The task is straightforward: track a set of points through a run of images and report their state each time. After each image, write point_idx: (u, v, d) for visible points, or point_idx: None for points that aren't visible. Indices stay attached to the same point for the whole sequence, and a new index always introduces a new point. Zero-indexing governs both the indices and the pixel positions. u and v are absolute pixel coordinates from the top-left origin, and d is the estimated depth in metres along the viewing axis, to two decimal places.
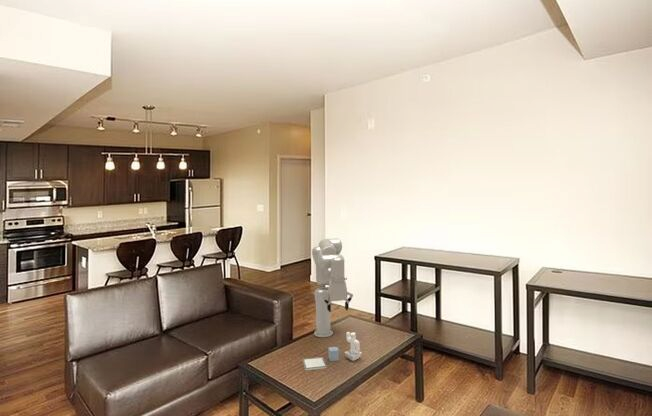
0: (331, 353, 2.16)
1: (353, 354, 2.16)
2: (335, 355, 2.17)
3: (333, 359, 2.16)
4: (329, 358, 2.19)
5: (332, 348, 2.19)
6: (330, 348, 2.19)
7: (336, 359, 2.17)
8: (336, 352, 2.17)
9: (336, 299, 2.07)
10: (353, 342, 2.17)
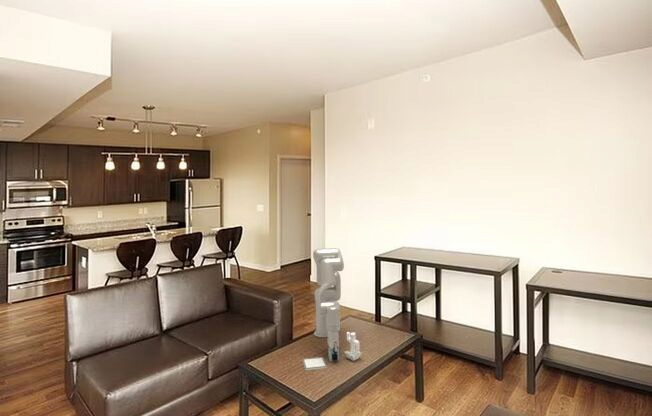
0: (331, 353, 2.16)
1: (353, 354, 2.16)
2: None
3: None
4: (329, 358, 2.19)
5: None
6: None
7: None
8: None
9: None
10: (353, 342, 2.17)
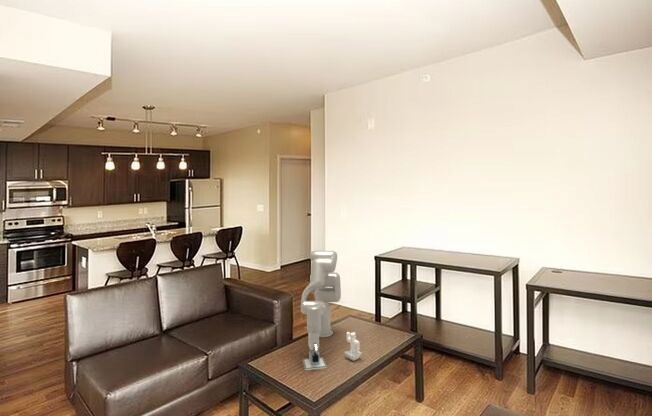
0: (311, 357, 2.10)
1: (353, 354, 2.16)
2: None
3: (314, 363, 2.10)
4: (310, 362, 2.12)
5: None
6: (311, 352, 2.13)
7: (317, 363, 2.11)
8: None
9: None
10: (353, 342, 2.17)
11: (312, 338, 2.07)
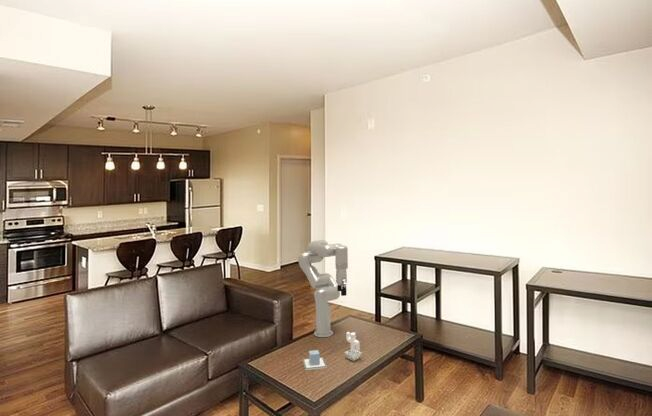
0: (311, 357, 2.10)
1: (353, 354, 2.16)
2: (316, 359, 2.10)
3: (314, 363, 2.10)
4: (310, 362, 2.12)
5: (313, 352, 2.13)
6: (311, 352, 2.13)
7: (317, 363, 2.11)
8: (317, 356, 2.10)
9: None
10: (353, 342, 2.17)
11: (340, 274, 2.29)
